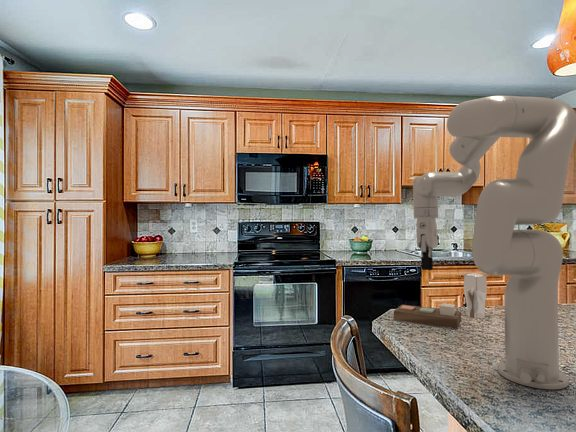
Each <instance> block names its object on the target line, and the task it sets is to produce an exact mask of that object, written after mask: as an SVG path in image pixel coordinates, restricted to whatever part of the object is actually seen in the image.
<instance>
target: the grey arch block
mask: <svg viewBox="0 0 576 432" xmlns="http://www.w3.org/2000/svg"><path fill="white" fill-rule="evenodd" d="M463 277H464V279H463V291H464V292H463V293H464V298H465V302H466V312H465V313H466V314H465V315H466V317H468V318H473V319H485V318H486V314H485V313H486V312H485V307H486V305H485V304H486V301H487V299H486V298H487V292H488V284H487V274H484V273H474V272H473V273H472V272H471V273H470V272H469V273H464V276H463Z"/></svg>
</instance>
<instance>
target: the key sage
mask: <svg viewBox="0 0 576 432" xmlns="http://www.w3.org/2000/svg"><path fill="white" fill-rule="evenodd" d="M430 308H431V307H426V308H421V309H420V310H419V312H424V313H432V314H433V313H434V312H435V309H436V308H435V309H430Z"/></svg>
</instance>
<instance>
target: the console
mask: <svg viewBox="0 0 576 432" xmlns="http://www.w3.org/2000/svg"><path fill="white" fill-rule="evenodd" d="M403 305H405V306H410V305H408V304H401V305H399V306H398V307H397V308H395V309H394V310H393V321H397V322H403V323H404V322H406V323H413V324H418V325H427V326H433V327H441V328H446V329H447V328H448V329H454V330H458V328H459V326H460V324H461V322H462V311H459V310H455V316H448V315H440V308H434V307H429V308H430V309H435V312H434V313H433V314H432V313H424V312H419V310H420V309H421V308H427V307H424V306H417V305H412V306H413V307H415V310H414V311H407V310H400V308H401V307H402V306H403Z"/></svg>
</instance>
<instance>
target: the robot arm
mask: <svg viewBox="0 0 576 432" xmlns="http://www.w3.org/2000/svg"><path fill="white" fill-rule="evenodd" d="M446 129H447V131H448V133H449V135H451V136H452V137H454V139H453V141H452V142H451V143H450V145H449V153H450V156H451V157H452V159H453V160H454V161H455V162H456V163H458V164H460V165H461V168H459V170H458V171H428V172H425V173H424V174H422V175H419V176H415V177H414V178H413V180H412V196H413V197H412V198H413V199H412V202H413V204H412V205H413V219H416V245H417V248H418V249H420V255H421V256H420V259H421V261H420V262H421V271H433V269H434V265H433V264H434V262H433V249H436V248H437V247H438V245H439V242H438V228H437V220H436V218H437V219H439V208H438V207H439V199H438V197H460V196H462V195H464V194H465V193H467V192H468V191H469V190H470V189H471V188H472V186H474V185H475V184H476V182H477V181H478V180H479V176H480V173H481V162H480V161H481V159H482V158H483V157H484V156H485V154H486V153H488V151H489V150H490V149H491V148H492V147H493V146H494V145H495V143H496V142H498V140H499V139H500V138H524V139H525V138H527V139H531V141H530V142H529V143H528V144H527V145H526V146H525V147H524V149H523V150H522V152H521V154H520V157H519V158H518V163H517V170H516V175H515V178H501V179H500V178H499V179H496V180H493V181H490V182H489V183H487V184H486V185H485V187H484V188H483V189H482V190H481V192H480V195H479V196H478V200H477V204H476V209H475V218H474V219H475V220H474V226H473V227H474V228H473V236H472V247H471V253H472V260H473V262H474V265H475V266H476V268H477V269H478V270H479V271H480V272H481V273H482V274H485V275H490V276H510V277H508V280H507V282H506V285H505V289H504V303H503V304H504V346H505V347H504V349H505V350H504V351H505V352H504V354H505V355H504V357H505V358H504V359H505V360H502V361H500V362H499V363H498V364H497V372H498V373H499V374H500V376H502V377H504V378H505V379H506V380H509V381H511V382H514V383H515V384H519V385H522V386H526V387H531V388H535V389H542V390H551V391H552V390H560V389H565V388H567V387H568V386H569V383H570V379H569V377H568V375H567V374H566V373H565V372H564V371H561V370H560V364H559V363H560V362H559V361H560V356H559V315H558V314H559V312H558V311H559V309H558V308H559V291H558V290H559V280H560V274H561V269H562V266H563V265H562V264H563V259H564V251H563V247H562V244H561V243H560V241H559V239H558V238H557V237H556V236H555V235H554V234H552V233H549V232H547V231H544V230H540V229H532V228H531V229H515V227H516V226H517V225H519V226H520V225H542V224H543V225H544V224H549V223H551V222H553V221H555V220H556V219H557V218H558V217H559V216H560V213H561V210H562V207H563V201H564V197H565V196H564V195H565V189H566V182H567V177H568V170H569V164H570V157H571V154H572V151H573V148H574V145H575V141H576V111H575V109H574V108H573V107H572V106H571V105H569V104H568V103H566V102H564V101H562V100H559V99H555V98H549V97H540V96H519V95H492V96H491V95H490V96H485V97H481V98H475V99H471V100H467V101H466V100H465V101H463V102H460V103H458V104H457V105H456V106H454V107H453V109H452V110H451V112H450V113H449V115H448V117H447V121H446Z"/></svg>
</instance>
